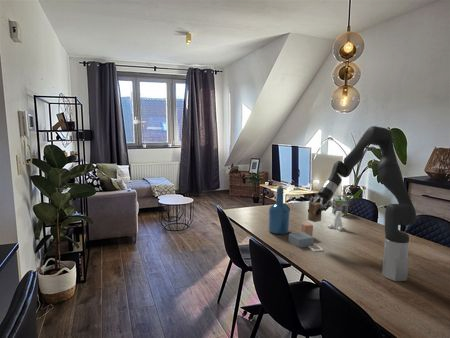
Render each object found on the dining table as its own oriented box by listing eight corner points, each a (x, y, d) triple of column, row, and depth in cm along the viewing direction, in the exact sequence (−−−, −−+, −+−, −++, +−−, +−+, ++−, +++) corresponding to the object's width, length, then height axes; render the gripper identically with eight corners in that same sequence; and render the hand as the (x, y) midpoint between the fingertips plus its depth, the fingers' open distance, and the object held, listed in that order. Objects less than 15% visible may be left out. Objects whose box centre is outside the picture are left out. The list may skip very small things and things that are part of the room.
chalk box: (347, 216, 232) (349, 197, 230) (335, 215, 232) (336, 196, 230) (343, 212, 241) (344, 194, 239) (331, 212, 241) (332, 194, 239)
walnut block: (321, 220, 170) (322, 203, 169) (314, 222, 167) (315, 204, 166) (314, 218, 174) (314, 201, 173) (308, 219, 171) (308, 202, 170)
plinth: (313, 245, 171) (313, 237, 171) (298, 248, 168) (298, 239, 167) (302, 239, 181) (303, 231, 180) (288, 242, 177) (288, 233, 176)
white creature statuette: (326, 227, 203) (327, 210, 201) (333, 225, 208) (334, 208, 207) (340, 231, 196) (341, 213, 194) (346, 228, 201) (347, 211, 200)
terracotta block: (312, 238, 183) (313, 225, 182) (304, 238, 182) (305, 225, 181) (308, 235, 188) (309, 222, 187) (301, 235, 187) (301, 223, 186)
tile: (323, 250, 164) (323, 249, 164) (313, 251, 163) (313, 250, 163) (318, 246, 169) (318, 245, 169) (308, 247, 169) (308, 245, 168)
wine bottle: (264, 231, 194) (265, 185, 190) (275, 226, 203) (277, 183, 199) (282, 236, 184) (284, 188, 180) (293, 231, 194) (295, 185, 190)
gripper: (315, 184, 178) (299, 206, 173) (335, 188, 166) (319, 213, 161) (320, 192, 182) (305, 214, 177) (341, 197, 170) (325, 221, 165)
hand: (312, 213), depth 169 cm, fingers closed on walnut block, 5 cm apart
